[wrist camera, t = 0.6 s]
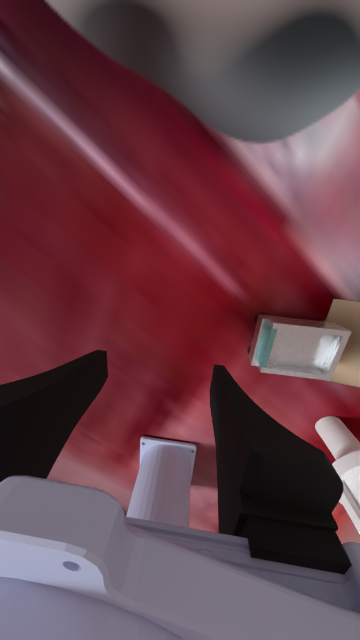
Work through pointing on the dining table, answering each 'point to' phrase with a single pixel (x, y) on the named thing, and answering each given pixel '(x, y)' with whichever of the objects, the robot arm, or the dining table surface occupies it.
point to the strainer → (344, 462)
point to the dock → (356, 360)
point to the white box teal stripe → (297, 346)
